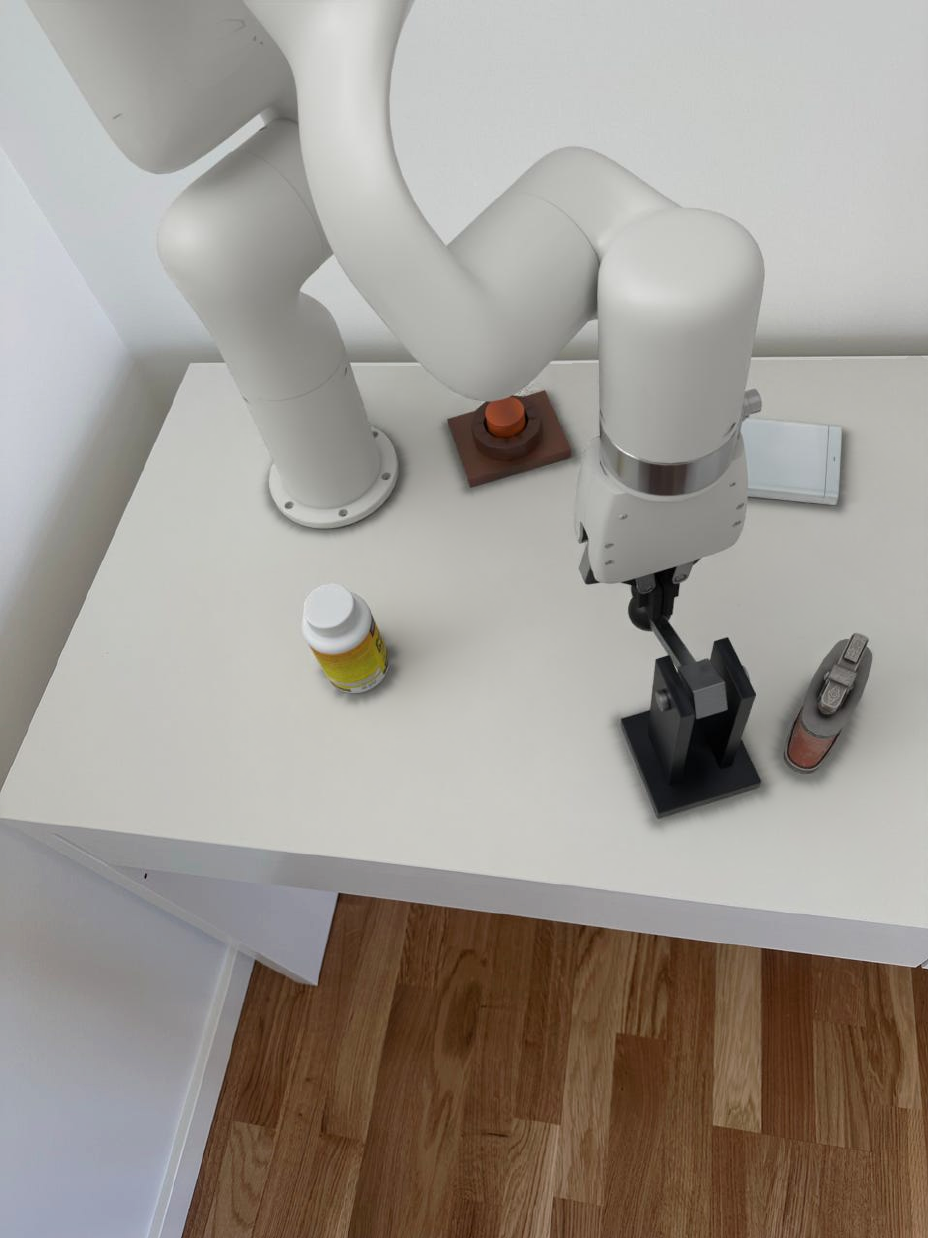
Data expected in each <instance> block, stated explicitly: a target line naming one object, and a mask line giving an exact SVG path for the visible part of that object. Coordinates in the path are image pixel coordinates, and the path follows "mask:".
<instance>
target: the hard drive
mask: <svg viewBox="0 0 928 1238" xmlns="http://www.w3.org/2000/svg"><path fill="white" fill-rule="evenodd" d="M740 431H741V433H742V436H743V440H744V445H745V452H746V460H747V472H748V498H749V497H751V498H761V499H770V500H780V501H790V502H792V501H793V502H802V503H812V504H821V505H830V506H836V505H837V503H838V501H839V495H840V481H841V480H840V479H841V460H842V441H843V440H842V439H843V425H837V424H828V423H827V424H826V423H815V422H814V423H812V422H802V421H792V420H782V419H771V418H757V417H748V418H746V419H745V421H743V422H742V425H741V430H740Z"/></svg>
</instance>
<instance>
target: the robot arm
mask: <svg viewBox="0 0 928 1238" xmlns="http://www.w3.org/2000/svg"><path fill="white" fill-rule="evenodd" d="M24 1H25V3H26V5H27V6H28V8H29V9H30V11H31V13H32V14H33V16H34V18H35V20H36V21H37V23H38V24H39V26H40V27H41V30H42V31H43V32H44V34H45V35H46V38H47V39H48V41H49V42H50V44H51V46H52V47H53V49H54V51H55V53H56V54H57V56H58V57H59V59H60V60H61V62H62V64H63V66H64V67H65V69H66V71H67V72H68V74H69V75H70V77H71V78H72V80H73V82H74V83H75V85H76V86H77V89H78V90H79V92H80V93H81V95H82V96H83V98H84V99H85V101H86V103H87V104H88V106H89V108H90V109H91V111H92V113H93V114H94V116H95V118H96V119H97V121H98V122H99V123H100V125H101V126H102V128H103V129H104V131H105V133H106V134H107V135H108V136H109V138H110V140H111V141H112V142H113V144H114V145H115V146H116V148H117V149H118V150H119V151H120V152H121V153H122V154H123V155H124V157H126V158H127V160H129V161H130V163H132V164H133V165H135V166H136V167H137V168H139V169H141V170H142V171H143V172H147V173H150V174H154V175H168V174H169V175H170V174H173V173H176V172H178V171H182V170H185V169H186V168H188V167H189V166H192V165H193V164H194V163H196V162H197V161H199V160H200V159H202V158H203V157H205V156H206V155H207V154H209V153H210V152H212V151H213V150H215V149H216V148H217V147H218V146H220V145H221V144H223V143H224V142H225V141H227V140H228V139H229V138H231V137H232V136H233V135H234V134H235V133H237V132H238V131H239V130H241V129H242V128H243V127H244V126H246V125H247V124H248V123H249V122H251V121H252V120H253V119H254V118H255V117H257V116H258V115H259V117H260V118H261V120H262V122H263V125H264V126H262V127H260V129H258V130H257V131H256V132H255V133H254V134H252V135H251V136H249V137H248V138H247V139H246V140H245V141H244V142H242V143H241V144H239V145H238V146H237V147H236V148H235V149H234V150H232V151H230V152H228V153H227V154H226V155H224V156H223V157H222V158H221V159H220V160H219V161H217V162H216V163H215V164H213V165H212V166H211V167H210V168H208V169H207V170H206V171H205V172H203V173H202V174H201V175H200V176H198V177H197V178H196V179H195V180H194V181H192V182H191V183H190V184H189V185H188V186H187V187H186V188H184V189H183V190H182V191H181V192H180V193H179V194H178V195H177V196H176V198H174V200H173V201H172V202H171V203H170V205H168V208H166V210H165V212H164V214H163V215H162V217H161V219H160V222H159V225H158V228H157V231H156V250H157V255H158V258H159V261H160V263H161V265H162V267H163V269H164V271H165V273H166V274H167V276H168V278H169V279H170V280H171V282H172V284H173V285H174V287H175V288H176V289H177V291H178V292H179V293H180V295H182V297H183V298H184V300H185V301H186V302H187V303H188V305H189V306H190V308H191V309H192V310H193V312H194V313H195V315H196V316H197V318H198V319H199V320H200V321H201V323H202V324H203V326H204V327H205V329H206V331H207V332H208V334H209V336H210V337H211V339H212V341H213V342H214V344H215V346H216V347H217V349H218V351H219V353H220V356H221V357H222V360H223V361H224V363H225V365H226V367H227V369H228V372H229V373H230V375H231V377H232V379H233V382H234V384H235V385H236V388H237V390H238V392H239V393H240V395H241V398H242V400H243V402H244V404H245V406H246V408H247V410H248V412H249V414H250V416H251V419H252V420H253V423H254V424H255V426H256V430H257V431H258V434H259V435H260V437H261V439H262V441H263V443H264V445H265V448H266V449H267V452H268V454H269V456H270V458H271V460H272V464H271V466H270V469H269V476H268V488H269V491H270V495H271V497H272V500H273V502H274V503H275V506H276V507H277V509H278V510H279V511H280V512H281V513H282V514H283V515H284V516H285V517H286V518H288V519H289V520H290V521H292V522H294V523H296V524H298V525H300V526H303V527H307V528H311V529H312V528H313V529H324V530H326V529H335V528H341V527H344V526H345V527H346V526H349V525H352V524H354V523H356V522H359V521H361V520H364V519H365V518H366V517H368V516H370V515H371V514H374V512H376V511H377V510H378V509H379V508H380V507H381V506H382V505H383V504H384V503H385V502H386V501H387V499H388V498H389V497H390V496H391V494H392V492H393V491H394V488H395V486H396V483H397V481H398V477H399V467H400V465H399V460H398V455H397V451H396V450H395V446H394V445H393V443H392V441H391V440H390V438H389V437H388V436H387V435H386V434H385V433H384V431H382V430H381V429H378V428H377V427H375V426H374V425H372V424H371V423H370V420H369V418H368V414H367V411H366V408H365V405H364V402H363V398H362V396H361V392H360V389H359V386H358V383H357V380H356V378H355V373H354V370H353V368H352V365H351V361H350V358H349V355H348V352H347V350H346V346H345V343H344V340H343V337H342V334H341V331H340V328H339V326H338V324H337V321H336V319H335V318H334V316H333V314H332V313H331V311H330V310H329V309H328V308H327V307H326V306H325V305H324V304H323V302H320V300H318V299H316V298H315V297H313V296H311V295H309V294H308V293H305V292H303V291H302V290H301V289H302V287H303V286H304V284H305V283H306V281H307V280H308V279H309V278H310V277H311V276H312V275H314V274H315V273H316V271H318V270H319V269H320V268H321V266H322V265H323V264H324V263H326V261H328V260H329V259H330V258H331V257H332V256H334V257H335V259H336V261H337V263H338V265H339V266H340V268H341V269H342V271H343V272H344V274H345V276H346V277H347V279H348V280H349V282H350V283H351V284H352V286H353V287H354V289H356V291H357V292H358V293H359V295H360V296H361V297H362V299H364V301H365V302H366V303H367V304H368V305H369V306H370V307H369V308H371V309H372V311H374V313H375V314H376V315H377V317H378V318H379V319H380V320H381V321H382V322H383V324H384V325H385V326H386V327H387V329H388V330H389V331H390V332H391V334H392V335H394V337H395V338H396V339H397V340H398V342H399V343H400V344H401V346H403V347H404V349H406V351H407V352H408V353H409V354H410V355H411V357H413V359H414V360H415V361H417V363H418V364H419V365H420V366H421V367H422V368H423V369H424V370H425V371H426V372H427V373H428V374H429V375H430V376H432V377H433V378H434V379H435V380H436V381H438V382H439V383H440V384H441V385H443V386H445V387H446V388H447V389H448V390H450V391H452V392H453V393H455V394H457V395H459V396H461V397H464V398H467V399H469V400H473V401H477V402H491V401H497V400H502V399H505V398H508V397H510V396H512V395H516V394H517V393H519V392H520V391H522V390H524V389H525V388H526V387H528V385H529V384H530V383H532V382H533V381H534V380H535V379H536V378H537V377H538V376H539V375H540V374H541V373H542V372H543V371H544V369H546V367H548V366H549V364H551V362H552V361H553V360H554V359H555V358H556V357H557V356H558V355H559V353H561V351H563V350H564V348H565V347H566V346H567V345H568V344H569V343H570V342H571V341H572V340H573V339H574V337H575V336H576V335H577V334H578V333H579V332H580V331H581V330H582V329H583V328H584V327H585V326H586V325H587V324H588V323H589V322H592V321H595V320H596V321H597V344H598V345H597V346H598V347H597V348H598V349H597V351H598V410H599V411H598V413H599V415H598V421H599V424H598V425H599V426H598V427H599V435H598V436H596V437H594V438H592V439H590V440H589V441H588V443H587V444H586V448H585V450H584V453H583V456H582V460H581V463H580V466H579V471H578V476H577V482H576V488H575V489H576V490H575V500H574V511H573V512H574V513H573V514H574V515H573V516H574V517H573V523H574V525H573V527H574V532H575V537H576V540H577V542H578V544H579V545H581V544H584V543H586V544H585V548H584V550H583V553H582V556H581V559H580V563H579V566H578V570H579V571H578V572H579V573H580V575H581V578H582V580H583V583H584V584H585V585H587V586H589V585H595V584H605V585H606V584H608V585H611V584H612V585H613V584H614V585H615V584H619V583H620V584H624V585H627V586H630V593H631V598H632V597H633V600H634V602H635V604H636V606H637V608H642V607H645V610H646V612H647V614H648V616H649V619H650V621H654V620H657V619H658V618H659V617H660V616H661V615H662V616H665V617H667V616H671V617H672V616H673V614H674V607H675V598H677V597H679V595H680V587H681V583H683V582H686V581H687V580H688V579H689V577H690V574H691V572H692V569H693V567H694V565H695V564H697V563H698V562H699V561H701V560H702V559H703V558H707V557H709V556H713V555H715V554H718V553H721V552H723V551H725V550H727V549H729V548H731V547H732V546H734V545H735V544H736V543H737V542H738V540H739V538H740V537H741V535H742V532H743V530H744V526H745V522H746V516H747V509H748V498H749V496H748V472H747V460H746V452H745V445H744V440H743V436H742V433H741V431H740V430H741V425H742V422H743V421H745V419H746V418H750V415H754V414H756V413H760V412H761V411H762V409H763V408H762V407H763V402H762V397H761V395H760V393H759V391H758V390H757V389H756V388H751V389H748V390H746V389H747V384H748V379H749V378H748V377H749V373H750V366H751V362H752V357H753V350H754V345H755V340H756V339H755V338H756V333H757V328H758V321H759V315H760V310H761V306H762V305H761V304H762V299H763V293H764V285H765V276H766V272H765V269H766V268H765V262H764V261H765V260H764V256H763V254H762V250H761V249H760V246H759V243H758V242H757V241H756V239H755V238H754V236H753V235H752V233H751V232H750V231H749V230H748V229H747V228H746V227H745V226H744V224H742V223H740V222H738V221H737V220H735V219H734V218H732V217H729V216H727V215H725V214H723V213H721V212H716V211H713V210H710V209H704V208H700V207H699V208H698V207H683V206H682V205H681V204H679V203H677V202H676V201H674V200H673V199H671V198H669V197H668V196H666V195H664V194H663V193H661V192H660V191H658V190H657V189H656V188H654V187H653V186H651V184H648V183H647V182H646V181H644V180H643V179H642V178H640V177H639V176H637V175H636V174H634V173H633V172H632V171H630V170H628V169H627V168H626V167H624V166H623V165H622V164H620V163H619V162H617V161H616V160H613V159H612V158H610V157H609V156H607V155H605V154H604V153H601V152H598V151H596V150H594V149H592V148H587V147H583V146H575V145H570V146H564V147H560V148H559V147H558V148H556V149H554V150H552V151H550V152H548V153H546V154H545V155H543V156H542V157H541V158H539V159H538V160H537V161H535V162H534V163H533V164H532V165H530V167H529V168H528V169H527V170H525V171H524V172H523V173H522V174H521V175H520V176H519V177H517V179H516V180H515V181H514V182H513V183H512V184H511V185H510V186H508V188H507V189H506V190H505V191H503V192H502V194H500V195H499V196H498V197H497V198H495V199H494V200H493V201H492V202H491V203H490V204H488V205H487V207H485V209H484V210H482V211H481V212H480V213H479V214H478V215H476V217H474V219H473V220H472V221H470V223H468V225H467V226H465V228H463V229H462V231H460V233H458V234H457V235H456V236H455V237H454V238H453V239H452V240H451V241H450V242H449V243H448V244H447V245H446V243H445V242H444V241H443V240H442V239H441V237H440V236H439V234H438V233H437V231H436V230H435V229H434V227H432V225H431V224H430V222H429V221H428V220H427V218H426V217H425V215H424V213H423V212H422V210H421V209H420V207H419V206H418V204H417V203H416V201H415V199H414V197H413V195H412V193H411V191H410V188H409V186H408V184H407V181H406V180H405V178H404V175H403V173H402V169H401V166H400V163H399V160H398V157H397V153H396V150H395V144H394V137H393V132H392V126H391V125H392V124H391V105H390V103H391V101H390V99H391V98H390V97H391V85H392V74H393V73H392V72H393V69H394V63H395V58H396V52H397V48H398V44H399V40H400V37H401V35H402V31H403V28H404V25H405V23H406V20H407V18H408V17H409V15H410V12H411V10H412V8H413V6H414V4H415V2H416V0H24Z"/></svg>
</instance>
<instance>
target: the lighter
mask: <svg viewBox="0 0 928 1238" xmlns="http://www.w3.org/2000/svg"><path fill="white" fill-rule="evenodd" d="M869 642H870V639H869V637H868V636H867V635H865V634H863V633H860V632H853V633H852V634H851V635H850V637H849V638H845V639H841V640H838V641H837V642H836V643H835V644H834V645H833V647H832V648H831V649H830V651H828V652H827V654H826V655H825V656H824V658H823V659H822V660H821V662H820V665H818V667H817V669H816V671H815V673H814V675H813V676H812V679H811V681H810V683H809V686H808V689H807V691H806V693H805V697H804V699H803V702H802V705H800V707H799V709H798V711H797V712H796V713H795V717H794V719H793V720H792V721H793V722H792V724H791V726H790V729H789V731H788V734H787V738H786V742H785V745H784V751H783V760H784V763H785V765H786V766H787V767H788V768H789V769H790V770H791V771H793V772H795V773H797V774H801V775H810V774H813V773H815V772H816V771H817V770H818V769H819V768H820V767H821V766H822V764H823V763H824V762H825V760H826V759H827V757H828V756H829V755H830V753H831V751H832V750H833V748H834V746H835V744H836V743H837V741H838V739H839V738H840V736H841V734H842V732H843V730H844V729H845V727H846V726H847V723H848V722H849V720H850V718H852V715H853V713H854V711H855V710H856V708H857V707H858V704H859V703H860V701H861V699H862V698H863V696H864V692H865V689H866V687H867V684H868V682H869V678H870V673H871V668H872V664H873V653H872V651H871V649H870V647H868V645H869Z"/></svg>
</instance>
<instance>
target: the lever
mask: <svg viewBox="0 0 928 1238" xmlns="http://www.w3.org/2000/svg"><path fill="white" fill-rule="evenodd" d="M627 614H628V619H629V620H630V622H631V623H632V624H633V626H635V627H636V628H637V629H638V630H641V631H644V632H649V633H651V632H652V633H653V634H654V636H655V637H656V639H657V640H658V642H659V644H660V645H661V646H662V648H663V649H664V651H665V652H666V654H667V655H670V657H671V659H672V661H673V663H674V666H675V668H676V670H677V672H678V675H679V677H680V679H681V681H682V684H683V686H684V688H685V690H686V693H687V695H688V697H689V699H690V702H691V704H692V706H693V708H694V711H695V718H696V719H700V718H703V717H706V716H709V715H713V714H716V713H719V712H722V711H726V710H728V704H727V693H726V683H725V681H724V679H723V678H722V677H721V675H720V674H719V673H718V671H717V670H716V668H715V667H714V666H713V664H712V663H711V661H710V658H709V657H707V658H704V659H701V660H696V658H695V657H694V656H693V654H692V653H691V651H690V650H689V648H688V647H687V646H686V644H685V643H684V642H683V640H682V638H681V637H680V636H679V635H678V632H677V631H676V630H675V628H674V627H673V626H672V624H671V623H670V619H671V617H672V615H671V616H667V617H665V616H662V615H661V616H660V617H659V618H658V619H657V620H654V621H650V619H649V616H648V614H647V612H646V610H645V607H642V608H637V606H636V604H635V602H634V600H633V597H632V596H631V599H629V602H628V605H627Z"/></svg>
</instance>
